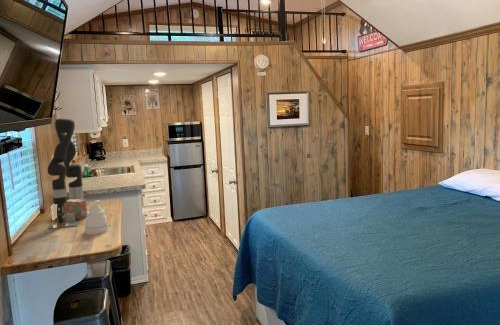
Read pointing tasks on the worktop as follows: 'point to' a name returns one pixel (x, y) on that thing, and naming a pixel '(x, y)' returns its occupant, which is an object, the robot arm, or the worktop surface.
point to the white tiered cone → (96, 220)
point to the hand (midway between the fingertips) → (61, 221)
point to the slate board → (69, 224)
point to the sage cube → (70, 217)
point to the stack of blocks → (76, 208)
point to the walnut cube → (63, 221)
